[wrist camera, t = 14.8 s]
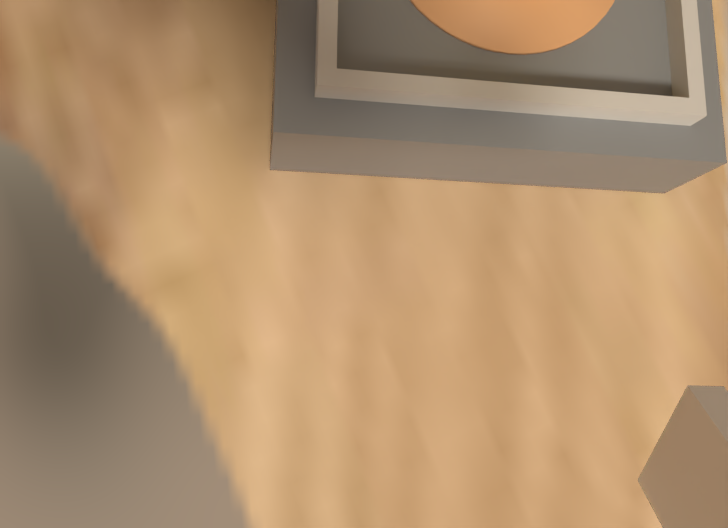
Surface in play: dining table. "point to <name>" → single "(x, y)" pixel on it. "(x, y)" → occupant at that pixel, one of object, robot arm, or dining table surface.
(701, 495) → the robot arm
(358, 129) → the grey square tray
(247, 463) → the dining table surface
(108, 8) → the dining table surface
